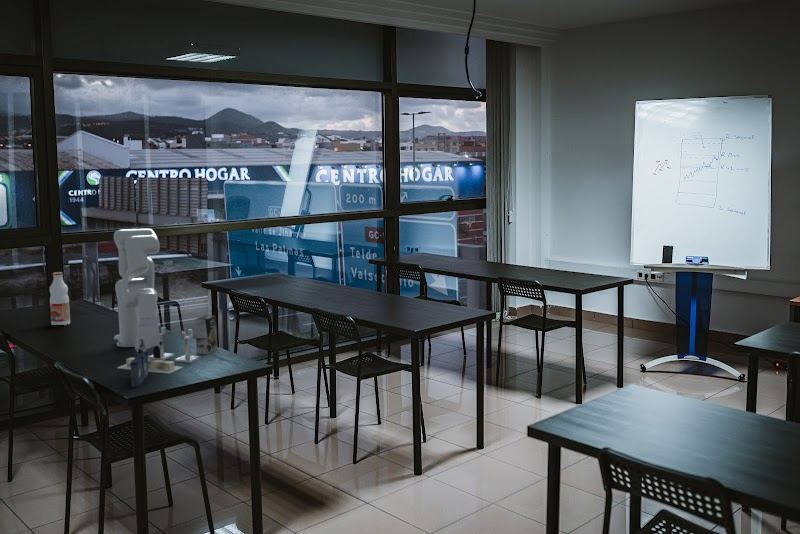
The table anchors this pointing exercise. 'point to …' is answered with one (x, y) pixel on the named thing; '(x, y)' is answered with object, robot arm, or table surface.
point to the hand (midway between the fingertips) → (149, 360)
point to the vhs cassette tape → (139, 369)
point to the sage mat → (154, 369)
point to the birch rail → (155, 364)
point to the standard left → (162, 354)
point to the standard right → (187, 349)
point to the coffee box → (206, 334)
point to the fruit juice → (59, 301)
